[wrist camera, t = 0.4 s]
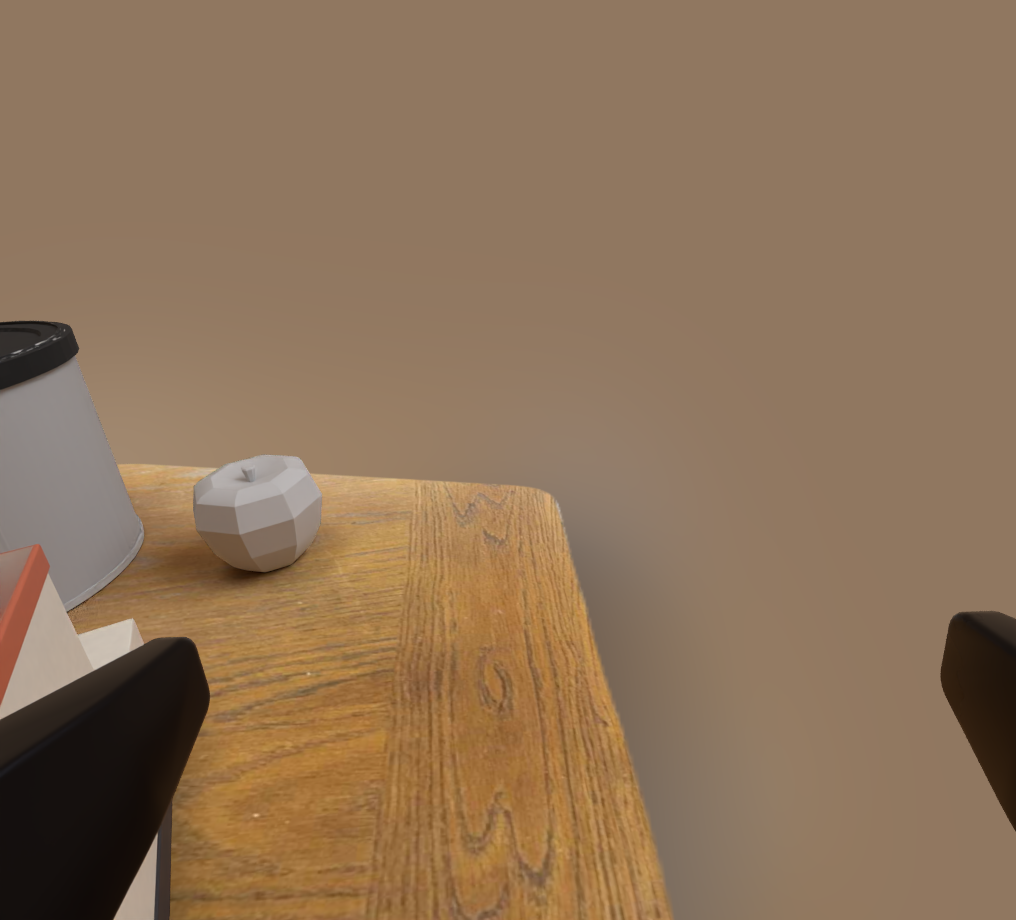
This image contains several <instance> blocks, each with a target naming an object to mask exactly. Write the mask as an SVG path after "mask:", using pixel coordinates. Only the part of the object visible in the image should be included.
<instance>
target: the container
mask: <svg viewBox="0 0 1016 920" xmlns="http://www.w3.org/2000/svg"><path fill="white" fill-rule="evenodd" d="M78 350H79V347H78V344H77V342H76V339H75V336H74V334H73V331H72V329H71V327H70V326H69V325H67V324H63V323H58V322H45V321H14V322H13V321H12V322H0V553H4V552H8V551H12V550H16V549H20V548H24V547H27V546H31V545H35V544H39V545H40V546H41V547H42V550H43V552H44V554H45V556H46V558H47V560H48V563H49V565H50V569H49V571H48V574H49V576H50V578H51V580H52V582H53V584H54V586H55V589H56V591H57V593H58V595H59V597H60V599H61V601H62V603H63V606H64V608H65V610H66V612H67V611H69V610H70V609H72V608H74V607H75V606H77V605H79V604H80V603H82V602H83V601H85V600H87V599H88V598H90V597H91V596H93V595H94V594H95V593H97V592H98V591H99V590H101V589H102V588H103V587H105V586H106V585H107V584H108V583H110V582H111V581H112V580H113V579H114V578H116V577H117V576H118V575H119V574H120V573H121V572H122V571H123V570H124V569H125V568H126V567H127V566H128V565H129V564H130V562H131V561H132V560H133V559H134V557H135V556H136V554H137V553H138V551H139V549H140V548H141V546H142V543H143V539H144V527H143V525H142V522H141V520H140V518H139V517H138V515H136V514H135V511H134V509H133V506H132V503H131V501H130V498H129V496H128V493H127V490H126V488H125V485H124V482H123V480H122V477H121V475H120V472H119V469H118V467H117V464H116V462H115V459H114V456H113V454H112V451H111V448H110V446H109V444H108V441H107V438H106V435H105V433H104V430H103V428H102V425H101V422H100V420H99V417H98V415H97V412H96V409H95V407H94V404H93V402H92V399H91V396H90V394H89V391H88V388H87V386H86V383H85V381H84V378H83V375H82V373H81V370H80V367H79V365H78V362H77V360H76V357H75V355H76V354H77V353H78Z"/></svg>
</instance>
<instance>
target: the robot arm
mask: <svg viewBox="0 0 1016 920" xmlns="http://www.w3.org/2000/svg"><path fill="white" fill-rule="evenodd" d="M941 683H942V688H943V691H944V693H945V696H946V698H947V700H948V702H949V704H950V706H951V708H952V710H953V712H954V714H955V716H956V718H957V719H958V722H959V723H960V725H961V727H962V729H963V731H964V733H965V735H966V737H967V739H968V741H969V743H970V745H971V747H972V749H973V751H974V753H975V755H976V757H977V759H978V761H979V763H980V765H981V767H982V769H983V771H984V773H985V775H986V776H987V778H988V781H989V783H990V785H991V786H992V789H993V790H994V792H995V794H996V796H997V798H998V800H999V802H1000V804H1001V806H1002V808H1003V810H1004V812H1005V813H1006V815H1007V817H1008V819H1009V821H1010V823H1011V824H1012V826H1013V828H1014V829H1015V831H1016V619H1015V618H1012V617H1010V616H1007V615H1005V614H1003V613H1000V612H995V611H979V612H978V611H976V612H959V613H958V614H956V615H955V616H953V618H952V619H951V621H950V624H949V628H948V634H947V639H946V645H945V650H944V655H943V661H942V666H941ZM209 702H210V691H209V686H208V683H207V680H206V677H205V673H204V670H203V667H202V664H201V660H200V657H199V654H198V651H197V648H196V645H195V643H194V642H193V641H192V640H191V639H189V638H187V637H168V638H157V639H154V640H151V641H149V642H148V643H146V644H144V645H142V646H140V647H138V648H136V649H134V650H132V651H130V652H128V653H127V654H125V655H123V656H121V657H119V658H117V659H115V660H113V661H111V662H109V663H107V664H105V665H104V666H102V667H100V668H98V669H96V670H94V671H92V672H90V673H88V674H86V675H84V676H83V677H81V678H79V679H77V680H75V681H73V682H71V683H69V684H67V685H65V686H63V687H62V688H60V689H58V690H56V691H54V692H52V693H50V694H48V695H46V696H44V697H42V698H40V699H39V700H37V701H35V702H33V703H31V704H29V705H27V706H25V707H23V708H21V709H19V710H18V711H16V712H14V713H12V714H10V715H8V716H6V717H4V718H2V719H0V920H114V918H115V916H116V914H117V912H118V910H119V908H120V906H121V904H122V902H123V900H124V898H125V896H126V894H127V892H128V890H129V888H130V886H131V884H132V883H133V881H134V879H135V877H136V875H137V873H138V871H139V869H140V867H141V865H142V863H143V861H144V859H145V857H146V855H147V853H148V851H149V849H150V847H151V845H152V843H153V841H154V839H155V837H156V835H157V833H158V831H159V829H160V826H161V824H162V822H163V819H164V817H165V815H166V813H167V810H168V808H169V805H170V803H171V801H172V798H173V796H174V793H175V791H176V788H177V786H178V783H179V781H180V778H181V776H182V773H183V771H184V768H185V766H186V763H187V761H188V758H189V756H190V753H191V751H192V748H193V746H194V743H195V741H196V738H197V736H198V733H199V731H200V728H201V726H202V723H203V721H204V718H205V716H206V713H207V710H208V707H209Z"/></svg>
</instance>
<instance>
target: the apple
mask: <svg viewBox="0 0 1016 920" xmlns="http://www.w3.org/2000/svg"><path fill="white" fill-rule="evenodd" d="M321 507H322V494H321V492H320V490H319V489H318V487H317V485H316V484H315V482H314V480H313V479H312V477H311V475H310V474H309V472H308V470H307V469H306V467H305V465H304V464H303V462H302V461H301V459H300V458H298V457H295V456H279V455H260V456H256V457H252V458H249V459H244V460H240V461H236V462H233V463H229V464H225V465H223V466H222V467H220V468H219V469H217V470H215V471H214V472H212V473H211V474H209V475H208V476H206V477H205V478H203V479H202V480H200V481H198V483H197V484H196V485H195V486H194V499H193V511H194V517H195V523H196V529H197V531H198V533H199V534H200V535H201V537H202V538H203V539H204V541H205V542H206V543H207V545H208V546H209V547H210V549H211V550H212V551H213V553H214V554H215V555H216V556H218V557H219V558H221V559H222V560H224V561H225V562H227V563H228V564H230V565H231V566H233V567H235V568H239V569H243V570H248V571H257V572H268V571H272V570H275V569H278V568H281V567H285V566H288V565H291V564H292V563H293V562H294V561H295V560H296V559H297V558H298V557H299V556H300V555H301V554H303V553H304V552H305V551H306V549H307V548H308V547H309V546H310V545H311V544H312V543H313V541H314V538H315V536H316V534H317V531H318V529H319V526H320V524H321Z"/></svg>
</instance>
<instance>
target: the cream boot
mask: <svg viewBox="0 0 1016 920" xmlns="http://www.w3.org/2000/svg"><path fill="white" fill-rule="evenodd" d="M49 569H50V565H49V563H48V560H47V558H46V556H45V554H44V552H43V550H42V547H41V546H40V545H39V544H35V545H31V546H27V547H24V548H20V549H16V550H12V551H8V552H4V553H0V719H2V718H4V717H6V716H8V715H10V714H12V713H14V712H16V711H18V710H19V709H21V708H23V707H25V706H27V705H29V704H31V703H33V702H35V701H37V700H39V699H40V698H42V697H44V696H46V695H48V694H50V693H52V692H54V691H56V690H58V689H60V688H62V687H63V686H65V685H67V684H69V683H71V682H73V681H75V680H77V679H79V678H81V677H83V676H84V675H86V674H88V673H90V672H92V671H94V670H96V669H98V668H100V667H102V666H104V665H105V664H107V663H109V662H111V661H113V660H115V659H117V658H119V657H121V656H123V655H125V654H127V653H128V652H130V651H132V650H134V649H136V648H138V647H140V646H142V645H144V643H143V640H142V638H141V635H140V633H139V631H138V628H137V626H136V623H135V621H134V619H129V620H125V621H122V622H119V623H115V624H112V625H109V626H106V627H102V628H99V629H96V630H92V631H89V632H86V633H82V634H79V635H77V633H76V631H75V629H74V627H73V625H72V623H71V620H70V618H69V616H68V614H67V612H66V610H65V608H64V606H63V603H62V601H61V599H60V597H59V595H58V593H57V591H56V589H55V586H54V584H53V582H52V580H51V578H50V576H49V574H48V571H49ZM171 828H172V801H171V803H170V805H169V808H168V810H167V813H166V815H165V817H164V819H163V822H162V824H161V826H160V829H159V831H158V833H157V835H156V837H155V839H154V841H153V843H152V845H151V847H150V849H149V851H148V853H147V855H146V857H145V859H144V861H143V863H142V865H141V867H140V869H139V871H138V873H137V875H136V877H135V879H134V881H133V883H132V884H131V886H130V888H129V890H128V892H127V894H126V896H125V898H124V900H123V902H122V904H121V906H120V908H119V910H118V912H117V914H116V916H115V918H114V920H169V916H170V872H171Z"/></svg>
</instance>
